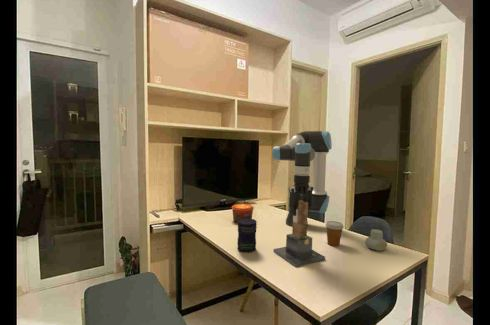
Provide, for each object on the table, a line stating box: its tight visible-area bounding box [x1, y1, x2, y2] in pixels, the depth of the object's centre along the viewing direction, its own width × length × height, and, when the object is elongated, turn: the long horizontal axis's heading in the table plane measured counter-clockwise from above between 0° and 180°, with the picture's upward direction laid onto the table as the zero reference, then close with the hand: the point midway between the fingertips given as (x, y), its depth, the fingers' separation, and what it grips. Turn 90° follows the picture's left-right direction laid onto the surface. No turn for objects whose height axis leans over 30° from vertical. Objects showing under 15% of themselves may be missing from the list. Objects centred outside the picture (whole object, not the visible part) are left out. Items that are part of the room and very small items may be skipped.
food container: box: [231, 203, 255, 224], centre depth 185 cm, size 16×16×11 cm
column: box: [291, 200, 309, 239], centre depth 128 cm, size 5×5×20 cm
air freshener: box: [364, 228, 388, 252], centre depth 141 cm, size 11×8×10 cm
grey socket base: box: [273, 233, 326, 268], centre depth 129 cm, size 18×18×10 cm
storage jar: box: [236, 218, 257, 254], centre depth 136 cm, size 10×10×15 cm
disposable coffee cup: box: [325, 220, 344, 247], centre depth 145 cm, size 10×10×12 cm
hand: (299, 221), depth 128 cm, fingers closed on column, 5 cm apart
